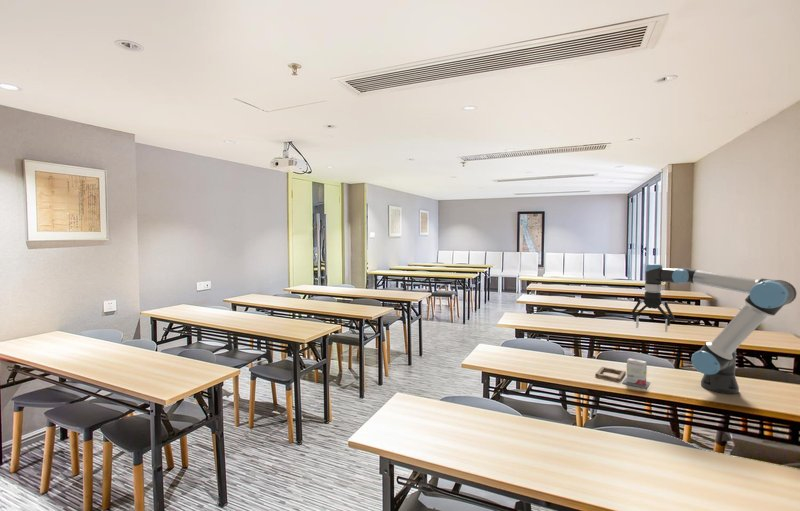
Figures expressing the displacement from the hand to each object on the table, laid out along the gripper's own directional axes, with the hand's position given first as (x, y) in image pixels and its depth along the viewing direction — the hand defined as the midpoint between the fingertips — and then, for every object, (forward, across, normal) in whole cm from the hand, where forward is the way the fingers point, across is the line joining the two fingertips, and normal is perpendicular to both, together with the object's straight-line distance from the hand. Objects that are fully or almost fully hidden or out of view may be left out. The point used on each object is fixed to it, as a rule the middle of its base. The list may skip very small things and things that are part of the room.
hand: (651, 329), depth 213 cm
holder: (+27, +17, +13) cm, 34 cm away
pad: (+27, +4, +17) cm, 32 cm away
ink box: (+26, +4, +17) cm, 32 cm away
